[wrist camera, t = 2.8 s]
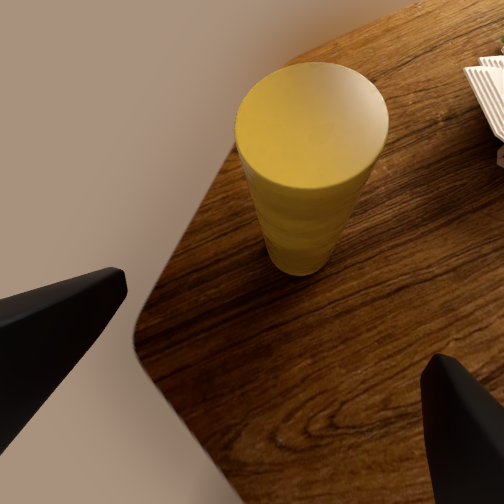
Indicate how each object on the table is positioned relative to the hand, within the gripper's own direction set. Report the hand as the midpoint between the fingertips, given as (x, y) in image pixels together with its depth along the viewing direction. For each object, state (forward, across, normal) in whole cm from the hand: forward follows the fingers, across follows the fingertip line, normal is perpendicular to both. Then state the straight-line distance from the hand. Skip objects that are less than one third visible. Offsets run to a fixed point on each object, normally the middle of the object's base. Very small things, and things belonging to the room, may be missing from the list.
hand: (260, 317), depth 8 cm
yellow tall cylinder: (+13, 0, +4) cm, 14 cm away
